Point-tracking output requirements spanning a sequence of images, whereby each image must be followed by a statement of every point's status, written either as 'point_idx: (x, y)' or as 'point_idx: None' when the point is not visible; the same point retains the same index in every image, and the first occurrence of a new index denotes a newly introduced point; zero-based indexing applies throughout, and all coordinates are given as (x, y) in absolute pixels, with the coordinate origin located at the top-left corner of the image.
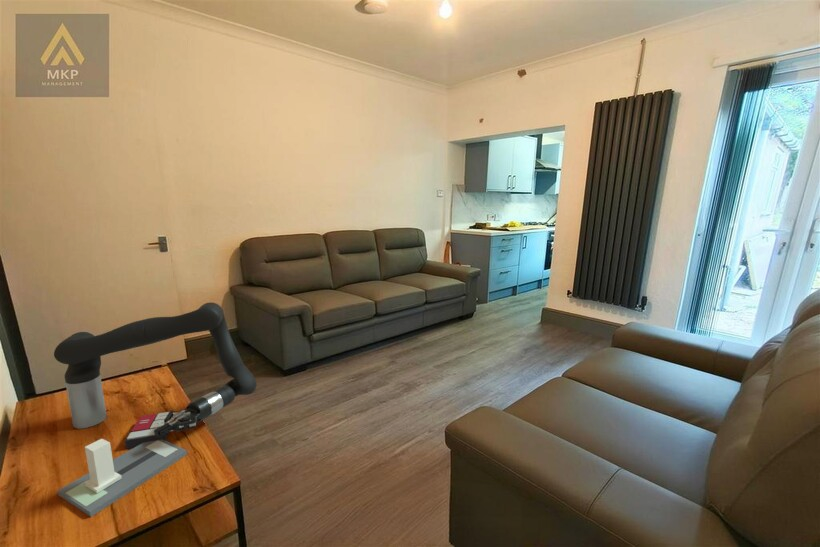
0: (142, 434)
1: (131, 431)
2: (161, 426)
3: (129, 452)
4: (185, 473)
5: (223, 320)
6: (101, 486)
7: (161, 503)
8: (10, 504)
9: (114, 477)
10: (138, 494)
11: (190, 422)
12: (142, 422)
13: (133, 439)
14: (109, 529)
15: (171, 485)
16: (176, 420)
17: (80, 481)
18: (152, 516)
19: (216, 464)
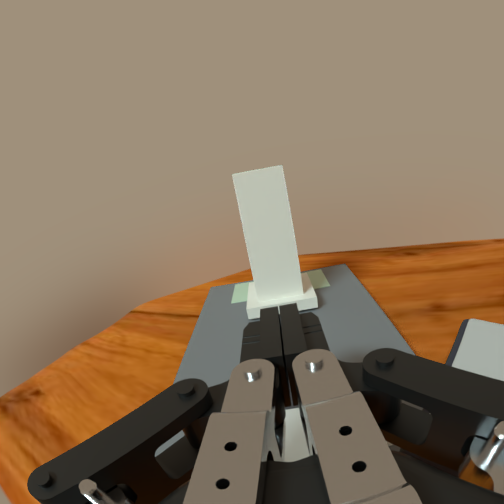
0: (471, 358)
1: None
2: (296, 327)
3: (393, 348)
4: (86, 422)
5: None
6: (250, 286)
7: (94, 354)
8: (380, 249)
9: (255, 301)
10: (169, 345)
11: (63, 457)
12: None
13: (456, 339)
14: (153, 307)
15: (101, 384)
16: (244, 413)
17: (340, 280)
18: (94, 338)
19: (8, 467)
